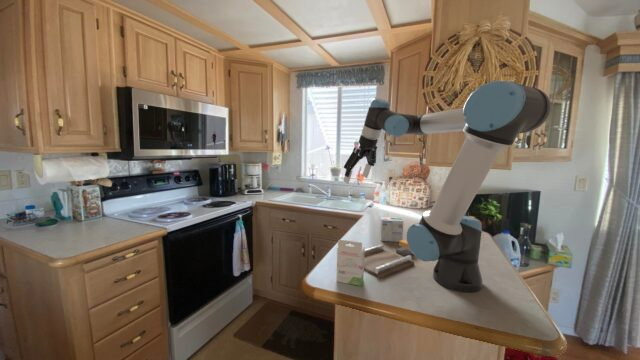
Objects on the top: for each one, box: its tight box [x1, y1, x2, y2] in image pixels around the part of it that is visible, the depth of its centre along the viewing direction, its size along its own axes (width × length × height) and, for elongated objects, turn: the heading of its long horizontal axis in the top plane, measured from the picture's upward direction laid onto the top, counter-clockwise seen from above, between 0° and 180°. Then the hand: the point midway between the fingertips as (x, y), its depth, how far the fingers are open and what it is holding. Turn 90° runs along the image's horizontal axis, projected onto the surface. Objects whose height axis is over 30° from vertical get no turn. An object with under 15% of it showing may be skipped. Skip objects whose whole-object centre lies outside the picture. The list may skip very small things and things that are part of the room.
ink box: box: [336, 239, 365, 287], centre depth 89 cm, size 9×5×15 cm, turn 70°
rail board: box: [364, 249, 415, 279], centre depth 105 cm, size 18×20×1 cm
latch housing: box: [395, 246, 414, 257], centre depth 115 cm, size 6×6×2 cm
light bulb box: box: [379, 216, 404, 243], centre depth 132 cm, size 11×7×11 cm, turn 84°
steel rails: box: [364, 243, 413, 274], centre depth 105 cm, size 15×20×2 cm
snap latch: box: [398, 238, 410, 249], centre depth 114 cm, size 4×4×2 cm
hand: (355, 179), depth 121 cm, fingers open, 13 cm apart
